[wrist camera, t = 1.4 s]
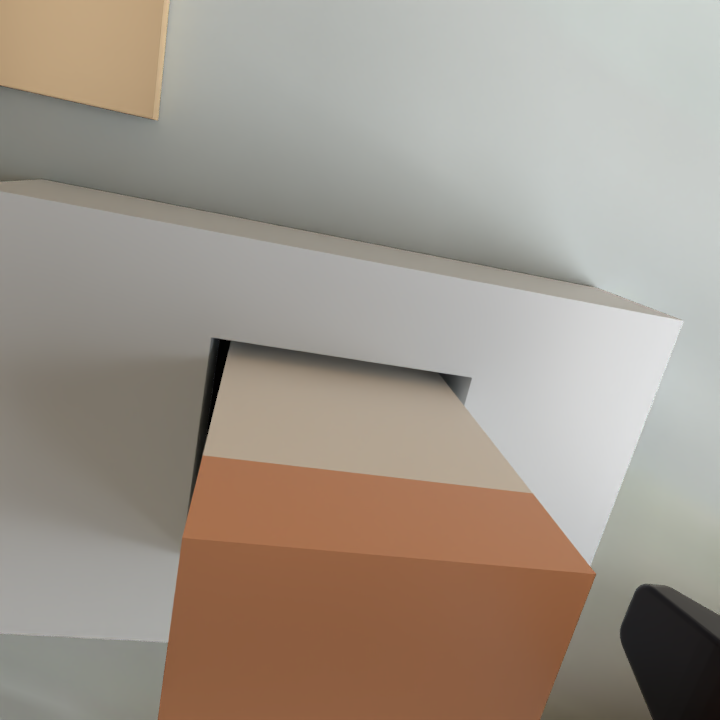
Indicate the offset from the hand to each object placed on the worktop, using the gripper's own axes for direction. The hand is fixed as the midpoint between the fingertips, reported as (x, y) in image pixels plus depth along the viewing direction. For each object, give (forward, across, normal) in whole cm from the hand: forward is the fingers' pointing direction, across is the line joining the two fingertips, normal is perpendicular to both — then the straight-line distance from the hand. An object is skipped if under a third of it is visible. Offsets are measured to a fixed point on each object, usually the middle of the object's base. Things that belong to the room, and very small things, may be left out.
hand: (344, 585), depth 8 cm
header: (+6, 0, 0) cm, 6 cm away
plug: (+6, 0, 0) cm, 6 cm away
